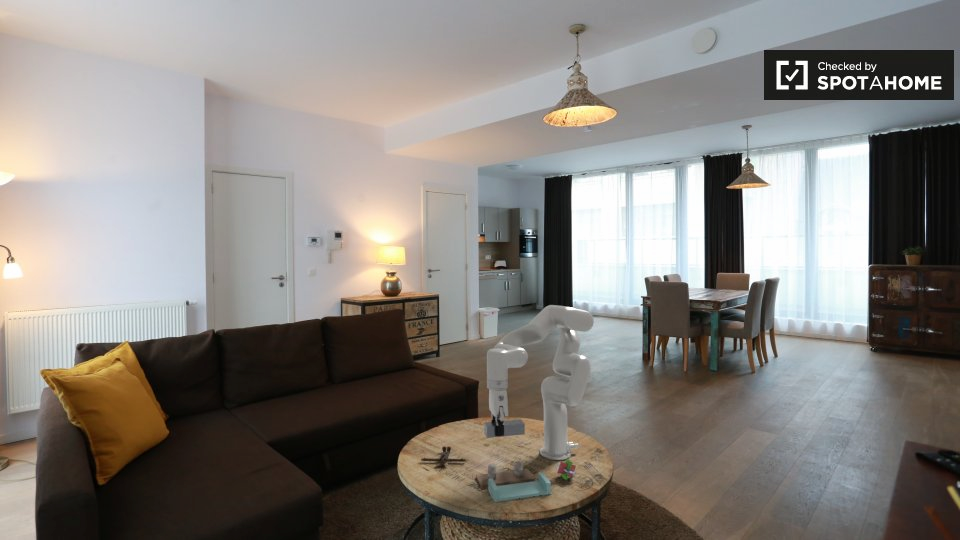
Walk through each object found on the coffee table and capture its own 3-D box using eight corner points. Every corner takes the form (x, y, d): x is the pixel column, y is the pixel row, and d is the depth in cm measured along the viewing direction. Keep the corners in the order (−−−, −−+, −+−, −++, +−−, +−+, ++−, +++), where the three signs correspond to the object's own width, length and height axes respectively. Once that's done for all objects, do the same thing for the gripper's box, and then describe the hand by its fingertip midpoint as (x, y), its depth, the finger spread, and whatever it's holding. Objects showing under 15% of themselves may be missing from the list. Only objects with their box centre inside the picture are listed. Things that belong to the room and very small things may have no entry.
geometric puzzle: (574, 465, 177) (562, 451, 176) (584, 473, 171) (572, 458, 169) (560, 479, 176) (549, 465, 174) (570, 488, 169) (558, 473, 167)
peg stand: (527, 471, 178) (527, 456, 178) (535, 481, 170) (535, 466, 170) (476, 477, 173) (476, 462, 173) (481, 488, 166) (481, 472, 165)
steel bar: (520, 429, 175) (520, 419, 175) (524, 434, 171) (524, 423, 171) (484, 433, 172) (484, 422, 172) (487, 438, 168) (487, 427, 168)
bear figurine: (468, 445, 195) (465, 457, 181) (468, 456, 195) (465, 469, 180) (425, 445, 196) (418, 457, 182) (425, 455, 196) (418, 468, 181)
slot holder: (542, 483, 169) (542, 472, 169) (550, 494, 161) (550, 482, 161) (488, 490, 164) (488, 478, 164) (494, 502, 156) (494, 490, 156)
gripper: (514, 389, 163) (514, 441, 164) (501, 376, 179) (501, 423, 180) (493, 390, 161) (493, 443, 162) (482, 377, 178) (482, 425, 178)
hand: (497, 432), depth 171 cm, fingers closed on steel bar, 4 cm apart
